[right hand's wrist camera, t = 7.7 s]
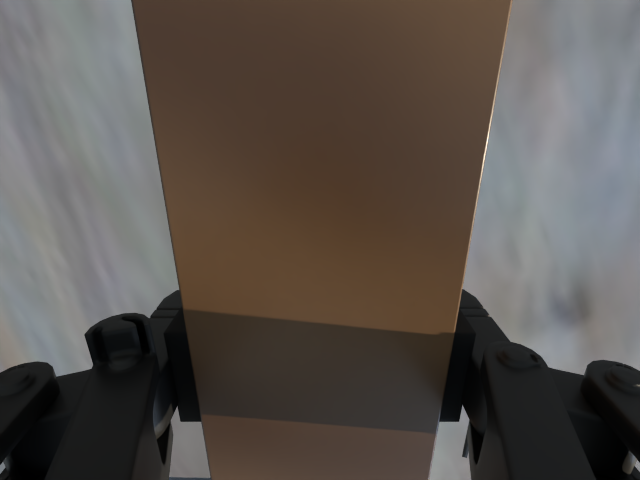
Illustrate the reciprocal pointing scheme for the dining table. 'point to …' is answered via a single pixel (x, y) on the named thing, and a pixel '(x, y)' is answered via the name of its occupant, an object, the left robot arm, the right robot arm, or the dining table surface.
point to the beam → (321, 218)
